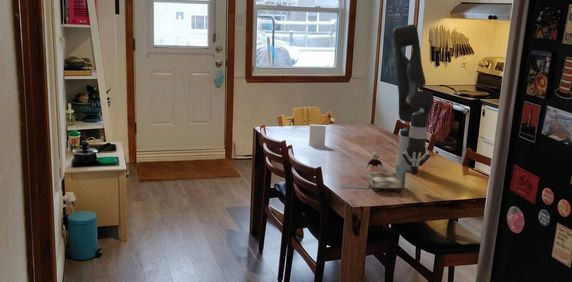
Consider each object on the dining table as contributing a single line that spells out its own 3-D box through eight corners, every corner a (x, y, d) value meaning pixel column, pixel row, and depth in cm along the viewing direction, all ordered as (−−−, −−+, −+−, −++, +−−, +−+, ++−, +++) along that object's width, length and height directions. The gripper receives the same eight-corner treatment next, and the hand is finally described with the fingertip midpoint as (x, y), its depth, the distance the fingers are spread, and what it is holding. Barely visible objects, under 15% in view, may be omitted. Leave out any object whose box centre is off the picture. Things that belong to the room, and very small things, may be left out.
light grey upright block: (324, 144, 340) (326, 124, 337) (324, 148, 331) (325, 127, 329) (309, 143, 341) (310, 123, 338) (308, 147, 332) (309, 126, 329)
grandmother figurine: (368, 179, 274) (370, 153, 271) (364, 177, 278) (366, 151, 275) (383, 179, 276) (385, 152, 273) (379, 176, 280) (381, 150, 277)
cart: (397, 183, 269) (398, 164, 267) (403, 192, 257) (405, 172, 254) (366, 183, 268) (368, 163, 266) (372, 191, 256) (373, 171, 254)
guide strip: (397, 187, 264) (397, 186, 264) (398, 189, 261) (399, 188, 261) (340, 185, 263) (340, 185, 263) (340, 187, 260) (341, 187, 260)
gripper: (430, 135, 262) (426, 172, 265) (400, 133, 261) (397, 171, 265) (434, 138, 254) (430, 177, 258) (404, 137, 254) (400, 176, 258)
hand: (413, 174), depth 261 cm, fingers closed
